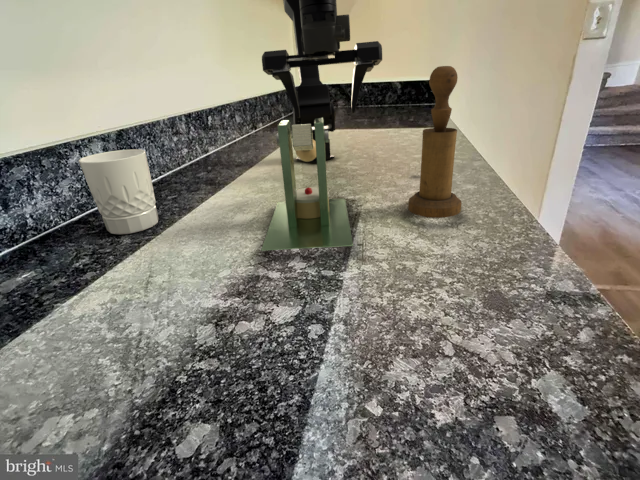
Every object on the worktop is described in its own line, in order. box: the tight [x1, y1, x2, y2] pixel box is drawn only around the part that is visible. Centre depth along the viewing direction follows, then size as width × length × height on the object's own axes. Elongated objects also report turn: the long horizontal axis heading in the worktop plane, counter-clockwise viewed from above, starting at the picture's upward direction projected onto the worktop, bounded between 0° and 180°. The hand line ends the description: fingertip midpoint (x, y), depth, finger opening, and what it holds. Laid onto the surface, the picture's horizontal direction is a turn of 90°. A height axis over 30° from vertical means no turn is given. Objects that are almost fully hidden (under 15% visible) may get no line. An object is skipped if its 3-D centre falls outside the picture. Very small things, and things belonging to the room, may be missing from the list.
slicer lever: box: [291, 124, 316, 163], centre depth 46 cm, size 11×3×3 cm, turn 179°
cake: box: [296, 187, 330, 219], centre depth 48 cm, size 5×5×3 cm
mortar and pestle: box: [407, 65, 462, 219], centre depth 44 cm, size 7×6×18 cm
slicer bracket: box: [260, 118, 354, 252], centre depth 44 cm, size 16×10×13 cm, turn 0°
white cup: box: [78, 148, 160, 235], centre depth 50 cm, size 8×8×10 cm
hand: (325, 115), depth 61 cm, fingers open, 9 cm apart
